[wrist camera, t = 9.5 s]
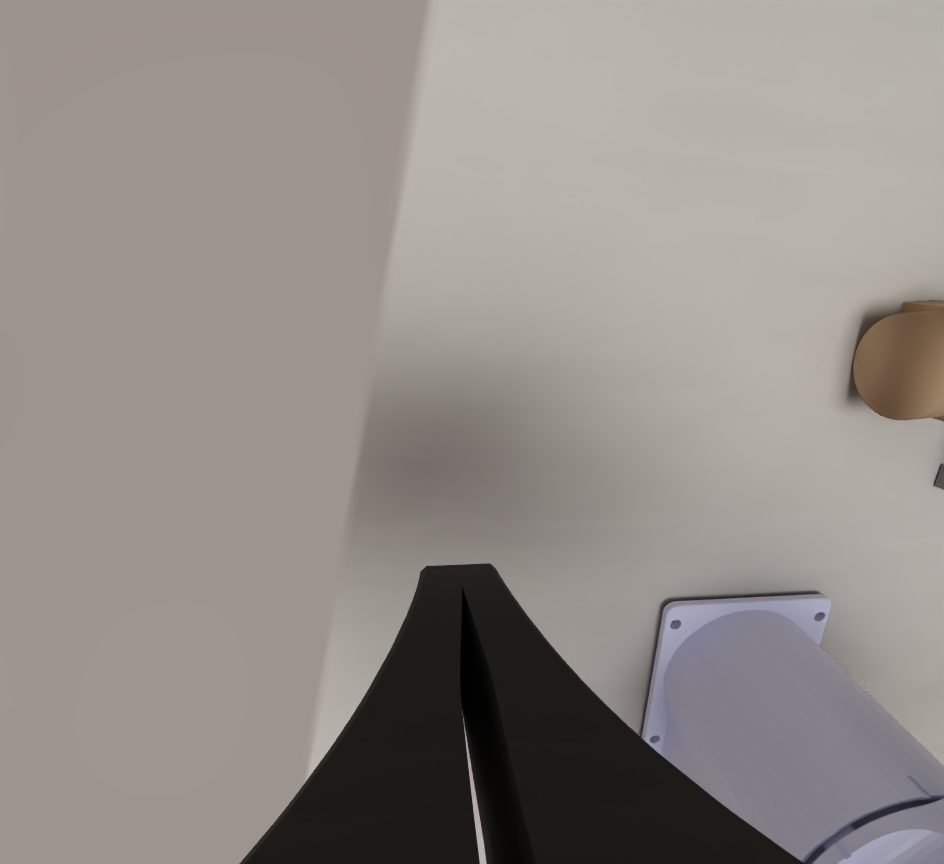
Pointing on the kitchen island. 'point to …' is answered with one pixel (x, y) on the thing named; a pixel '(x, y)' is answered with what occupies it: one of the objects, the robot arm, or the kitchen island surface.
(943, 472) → the collar
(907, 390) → the light wooden rod
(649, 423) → the kitchen island surface
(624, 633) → the kitchen island surface
